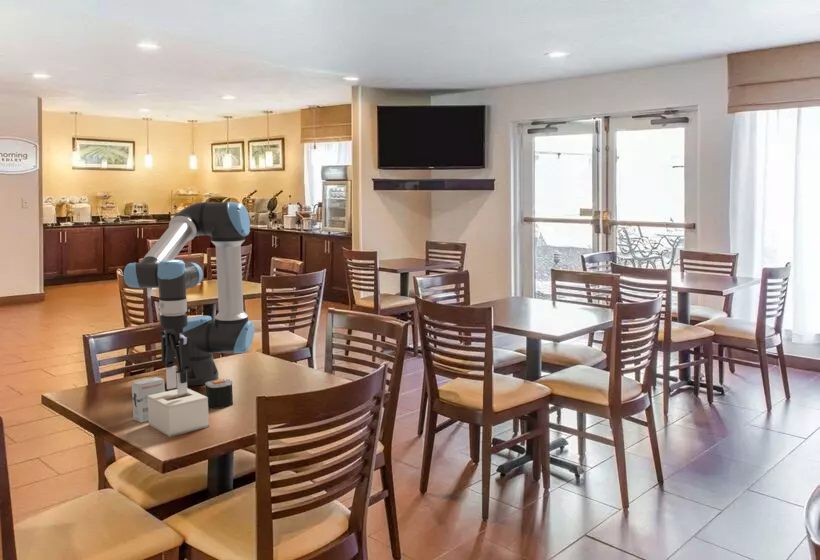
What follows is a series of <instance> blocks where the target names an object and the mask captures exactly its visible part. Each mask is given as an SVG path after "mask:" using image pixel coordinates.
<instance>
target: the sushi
mask: <svg viewBox="0 0 820 560" xmlns="http://www.w3.org/2000/svg"><path fill="white" fill-rule="evenodd" d="M233 383H234V382H233V380H231V379H225V378H223V379H222V378H220V379H217V380H214V381H211V382H210V381H208V382H207V383H205V384H204V385H205V394H206V395H205V396H206V397H208V408H210V409H222V408H228V407H232V406H233V404H234V400H233V399H234V397H233V394H234V393H233Z"/></svg>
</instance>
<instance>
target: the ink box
mask: <svg viewBox="0 0 820 560" xmlns="http://www.w3.org/2000/svg"><path fill="white" fill-rule="evenodd" d="M165 385H166V384H165V379H164V378H161V377H156V376H155V377H151V378H147V379H143V380H138V381H134V382H131V397H132V398H131V399H132V401H131V402H132V413H133V417H132V418H133V420H135V421H136V422H139V423H141V424H142V423H146V422H149V418H148V399H147V395H152V394H157V393H161V392H166V387H165Z"/></svg>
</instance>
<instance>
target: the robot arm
mask: <svg viewBox="0 0 820 560" xmlns="http://www.w3.org/2000/svg"><path fill="white" fill-rule="evenodd" d="M250 219H251V218H250V215H249V212H248V210H247V208H246V206H245V205H244V204H242V203H241V202H233V201H222V202H221V201H218V202H217V201H214V202H211V201H210V202H208V201H207V202H205V201H201V202H197V203H196V202H195V203H193V204H192V203H191V204H190V205H189V206H186V207H184V208H183V209H181V210H180V211H178V212H177V213H176V214H175V215H174V216H172V218H171V220H169V223H168V227H167V229H166V230H165V231H164V233H163V234H162V235H161V237H159V238H158V240H157V241H156V242H155V243H154V245H153V246H152V247H151V248H150V249H149V250H148V252H147V253H146V254H145V255H144V257H143V258H142V259H141V260H140V261H139V262H136V261H135V262H130V263H127V264H126V266H125V267H124V270H123V279H124V283H125V285H126V286H128V287H129V288H136V289H137V288H139V289H158V300H159V303H158V305H157V306H158V308H159V313H160V315H159V324H160V325H159V327H160V328H162V329H163V330H162V331H161V330H160V340H161V341H160V343H161V364H163V365H164V367H165V375H166V376H165V377H166V379H165V380H166V390H174V389H177V392H178V394H184V393H188V392H187V388H188V387H189V386H192V387H193V386H194V387H195V386H203V385H206V384H205V383H207V382H208V381H210V382H211V381H214V380H217V379H218V380H219V378H220V377H219V371H218V368H217V365H216V362H215V360H214V357H213V355H214V354H213V353H215V354H235V355H236V354H245V353H247V352H248V351H249V350H250V349H251V346H252V344H253V341H254V337H255V336H254V335H255V324H254V322H253V321H252V320H249V315H248V314H247V313H246V312H245V311H244V296H243V295H244V294H243V292H244V291H243V269H242V244H243V243H244V242H245V241H246V239H245V238H246V237H247V236H249V234H250V232H251V229H250V228H251V220H250ZM198 236H209V237H210V242H211V243H212V244H213V245H214V246H215V259H216V264H215V265H216V280H217V303H218V304H217V305H218V312H217V314H216V315H215V316H214V320H213V318H212V316H210V315H201V316H200V315H197V316H193V317H188V314H187V312H188V305H187V304H188V301H187V300H188V299H187V289H190V288H194V287H196V286H197V285H199V284H200V283H201V282H202V280H203V278H204V272H203V268H202V267H201V266H200V265H199V264H198V263H195V262H192V261H191V262H189V261H186V262H184V260H183V259H175V258H176V257H177V256H178V254H179V253H180V252H181V251H182V249H183V248H184V247H185V245H186V244H187V243H188V242H189V241H192V240H194V239H195V237H198ZM175 361H176V362H175Z"/></svg>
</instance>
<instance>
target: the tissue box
mask: <svg viewBox="0 0 820 560" xmlns="http://www.w3.org/2000/svg"><path fill="white" fill-rule="evenodd" d="M187 392H188V393H184V394H178V392H177V388H174V389H170V390H168V391H166V390H165V392H161V393H157V394H152V395H147V399H148V418H149V421H148V425H149V426H150V427H152V428H154V429H156V430H157V431H159V432H161V433H162V434H165V436H167V437H169V438H171V437H175V436H179V435H183V434H186V433H191V432H193V431H194V432H195V431H197V430H202V429H205V428H209V427H210V424H209V422H210V419H209V407H208V397H206V395H204V394H202V393H199V392H197V391H196V390H195V391H194V390H192V389H191V388H188V387H187Z"/></svg>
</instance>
